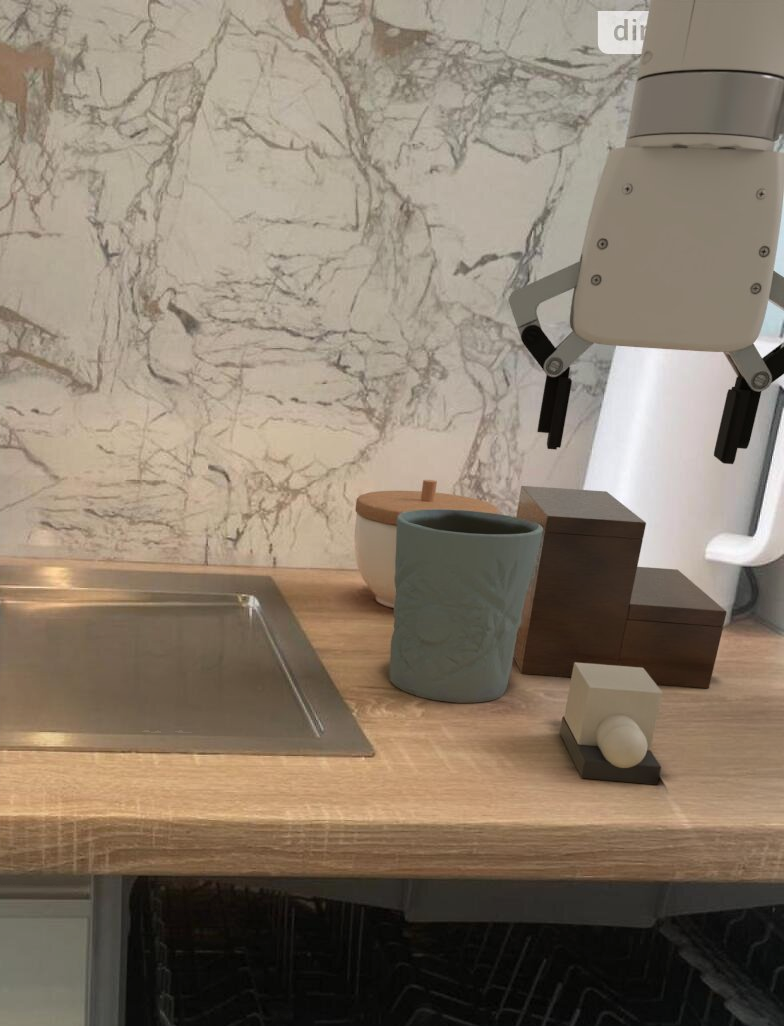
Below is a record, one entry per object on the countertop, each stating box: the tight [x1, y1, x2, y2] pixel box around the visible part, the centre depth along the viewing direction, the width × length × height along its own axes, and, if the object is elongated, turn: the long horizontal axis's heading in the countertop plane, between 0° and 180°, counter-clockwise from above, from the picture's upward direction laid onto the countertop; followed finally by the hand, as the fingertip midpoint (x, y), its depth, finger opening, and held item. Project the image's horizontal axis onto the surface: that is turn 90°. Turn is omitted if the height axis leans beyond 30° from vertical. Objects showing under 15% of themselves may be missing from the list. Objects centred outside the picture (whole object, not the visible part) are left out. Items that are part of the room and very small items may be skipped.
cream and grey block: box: [559, 662, 664, 785], centre depth 74 cm, size 9×4×5 cm, turn 173°
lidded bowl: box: [354, 479, 500, 609], centre depth 108 cm, size 13×13×11 cm
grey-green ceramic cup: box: [389, 509, 543, 704], centre depth 86 cm, size 10×10×12 cm
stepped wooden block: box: [513, 485, 728, 689], centre depth 95 cm, size 14×14×12 cm
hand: (636, 453), depth 70 cm, fingers open, 9 cm apart
